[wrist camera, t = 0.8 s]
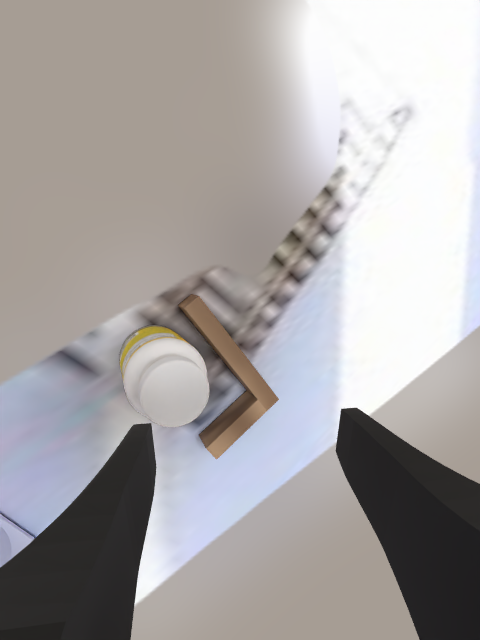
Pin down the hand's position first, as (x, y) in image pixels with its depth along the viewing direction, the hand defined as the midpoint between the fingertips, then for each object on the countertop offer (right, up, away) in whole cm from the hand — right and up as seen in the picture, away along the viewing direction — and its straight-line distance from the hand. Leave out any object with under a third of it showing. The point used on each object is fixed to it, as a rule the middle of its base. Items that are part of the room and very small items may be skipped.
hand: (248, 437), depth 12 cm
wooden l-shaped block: (-4, 0, +17) cm, 18 cm away
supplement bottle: (-8, +1, +16) cm, 17 cm away
